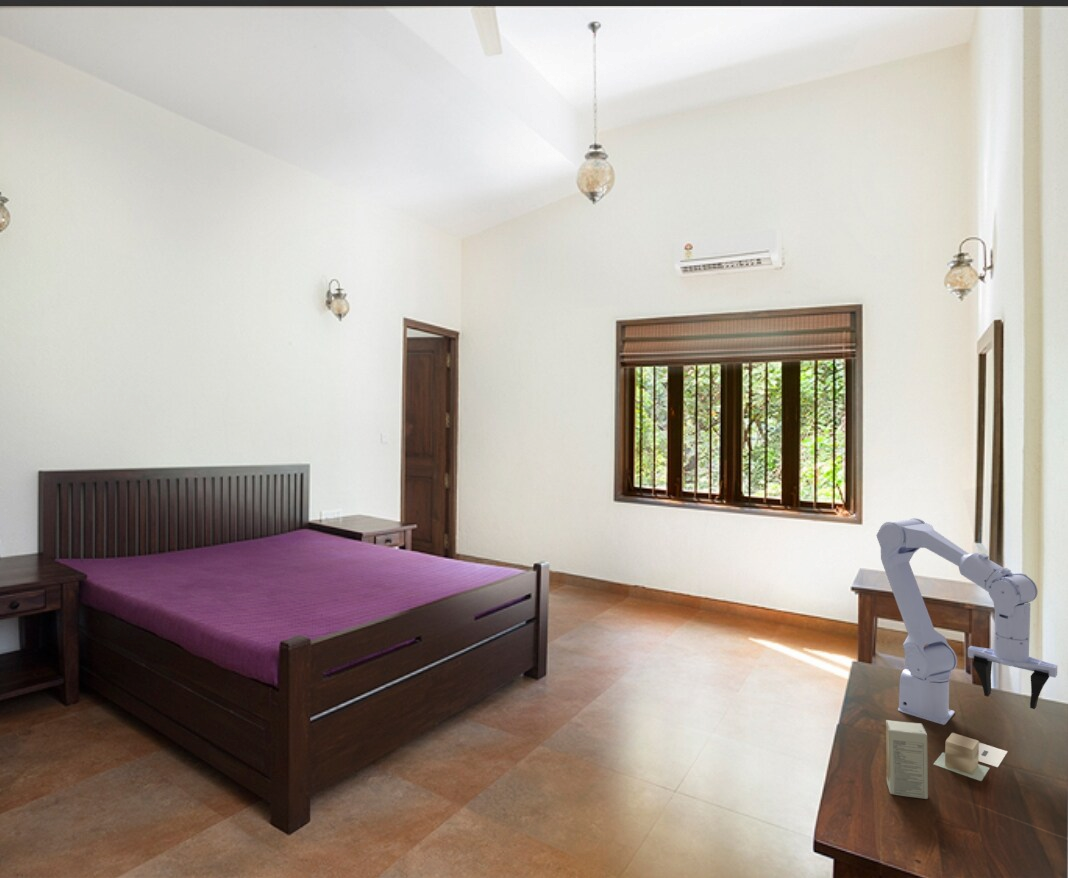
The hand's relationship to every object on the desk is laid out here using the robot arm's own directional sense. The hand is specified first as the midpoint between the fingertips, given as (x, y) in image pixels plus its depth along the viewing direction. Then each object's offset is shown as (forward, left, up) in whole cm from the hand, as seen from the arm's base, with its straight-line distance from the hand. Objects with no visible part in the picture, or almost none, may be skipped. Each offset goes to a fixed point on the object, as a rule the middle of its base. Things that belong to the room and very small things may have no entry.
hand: (1010, 700), depth 133 cm
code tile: (-4, -5, -10) cm, 12 cm away
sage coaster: (-5, -14, -10) cm, 18 cm away
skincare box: (-10, -29, -11) cm, 32 cm away
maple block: (-5, -13, -10) cm, 18 cm away
